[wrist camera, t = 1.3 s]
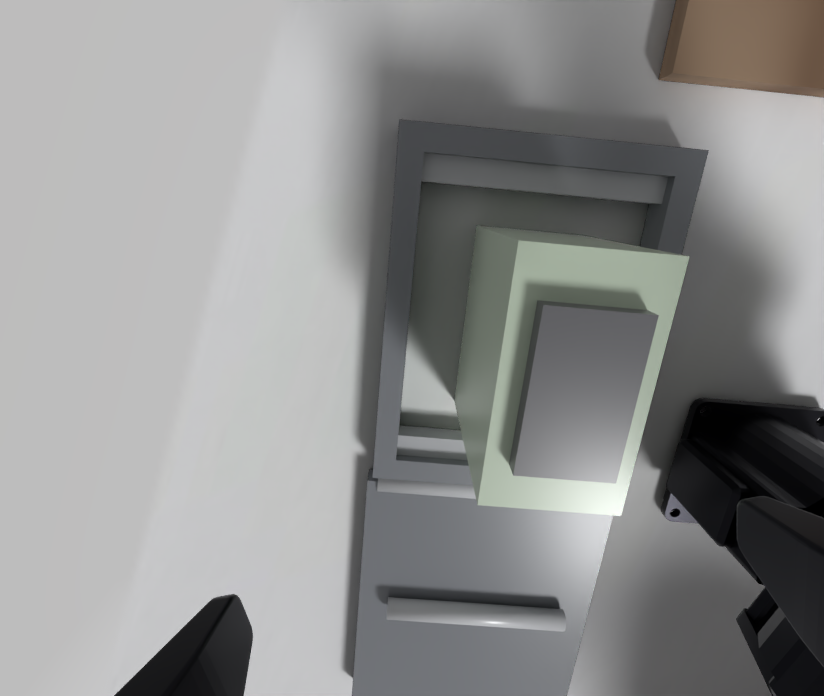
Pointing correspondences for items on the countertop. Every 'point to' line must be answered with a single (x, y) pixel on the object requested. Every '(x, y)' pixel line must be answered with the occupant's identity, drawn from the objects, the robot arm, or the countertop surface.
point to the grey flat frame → (447, 462)
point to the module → (560, 365)
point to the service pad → (747, 45)
